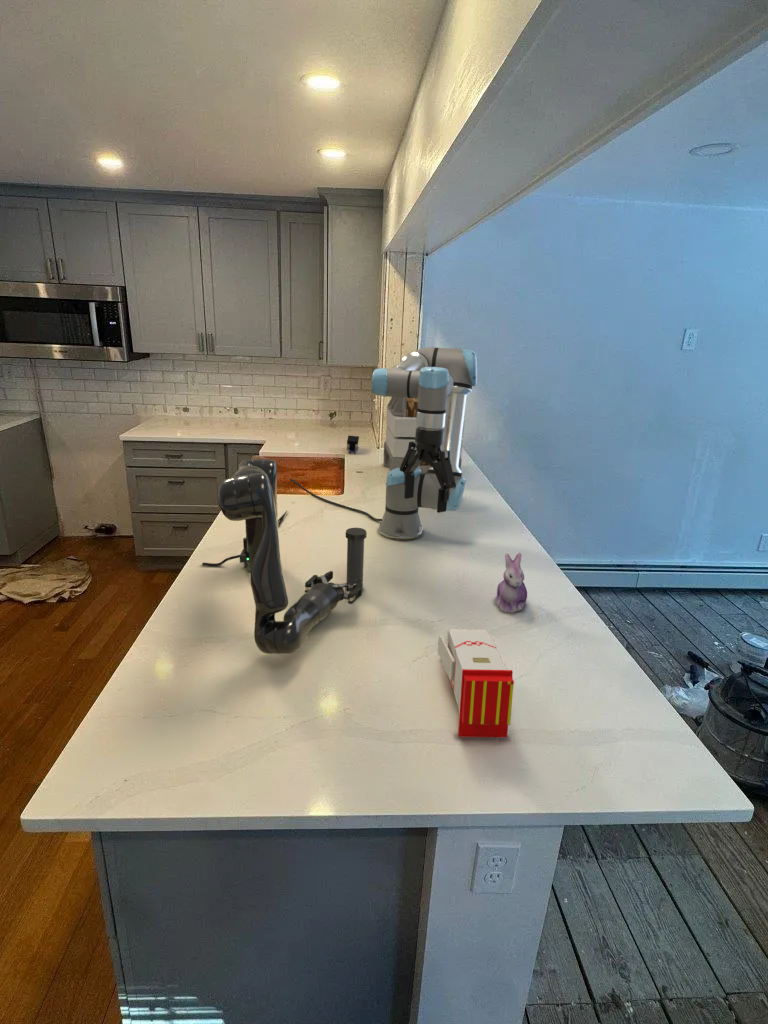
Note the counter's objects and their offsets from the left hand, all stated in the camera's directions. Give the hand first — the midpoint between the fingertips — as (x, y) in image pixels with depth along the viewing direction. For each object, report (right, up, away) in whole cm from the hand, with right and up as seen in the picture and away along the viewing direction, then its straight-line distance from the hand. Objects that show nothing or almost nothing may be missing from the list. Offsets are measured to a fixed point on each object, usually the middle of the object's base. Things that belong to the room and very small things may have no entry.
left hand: (345, 577), depth 152 cm
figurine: (+45, -8, +2) cm, 46 cm away
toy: (+28, -20, -34) cm, 48 cm away
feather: (-27, +17, +61) cm, 69 cm away
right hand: (+21, +20, +4) cm, 29 cm away
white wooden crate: (+27, +36, +123) cm, 131 cm away
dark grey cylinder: (+2, -4, +7) cm, 8 cm away
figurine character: (-7, +51, +158) cm, 166 cm away
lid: (+3, +12, +1) cm, 12 cm away
